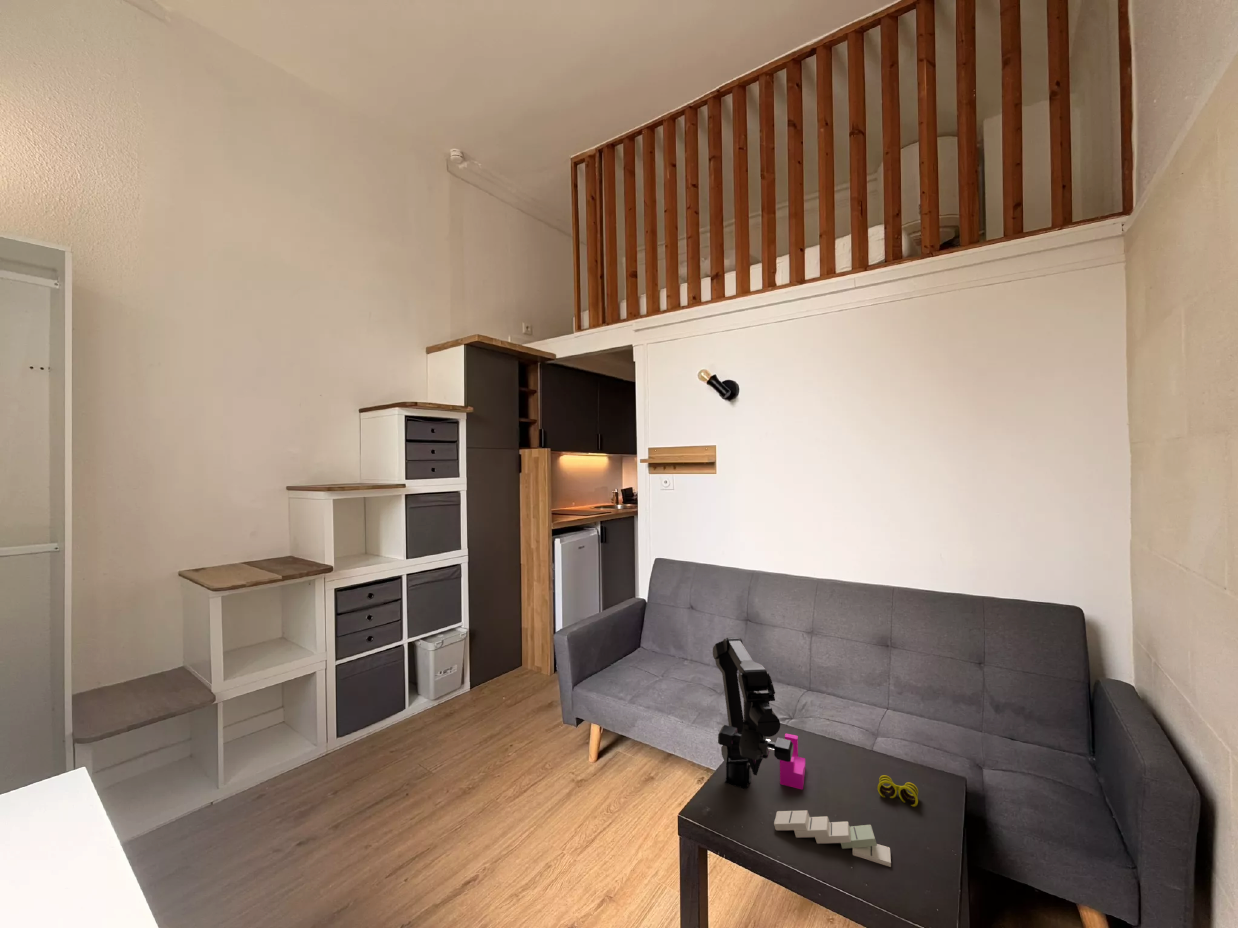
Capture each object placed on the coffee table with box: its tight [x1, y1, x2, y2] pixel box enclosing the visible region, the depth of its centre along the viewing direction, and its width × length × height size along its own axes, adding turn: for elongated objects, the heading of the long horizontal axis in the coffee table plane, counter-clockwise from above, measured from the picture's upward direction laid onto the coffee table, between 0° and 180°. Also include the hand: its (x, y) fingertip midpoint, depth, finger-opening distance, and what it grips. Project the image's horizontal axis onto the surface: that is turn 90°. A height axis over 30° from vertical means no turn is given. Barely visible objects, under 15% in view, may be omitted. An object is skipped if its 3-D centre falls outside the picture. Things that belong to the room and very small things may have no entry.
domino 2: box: [793, 815, 830, 838], centre depth 123 cm, size 2×5×8 cm
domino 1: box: [773, 809, 811, 831], centre depth 125 cm, size 2×5×8 cm
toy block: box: [779, 733, 806, 790], centre depth 148 cm, size 15×6×8 cm, turn 155°
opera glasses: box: [877, 775, 919, 808], centre depth 136 cm, size 10×5×5 cm, turn 57°
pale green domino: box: [840, 824, 878, 850], centre depth 119 cm, size 2×5×8 cm
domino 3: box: [814, 821, 851, 845], centre depth 121 cm, size 2×5×8 cm
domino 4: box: [852, 843, 892, 868], centre depth 117 cm, size 2×5×8 cm
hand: (755, 774), depth 129 cm, fingers closed
